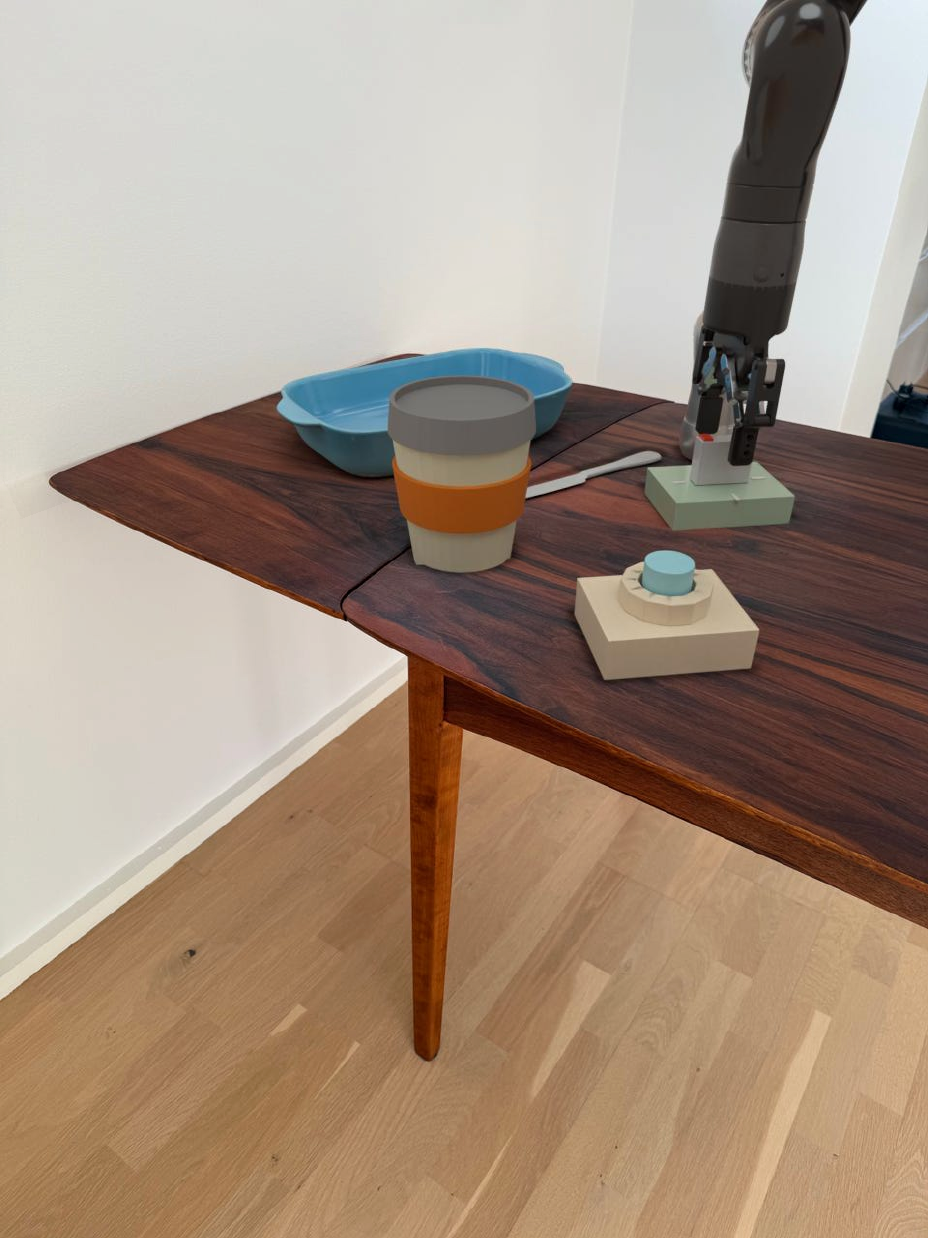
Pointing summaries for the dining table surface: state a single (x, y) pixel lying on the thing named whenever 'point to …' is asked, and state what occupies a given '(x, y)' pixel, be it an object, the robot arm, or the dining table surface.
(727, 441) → the tap knob
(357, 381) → the casserole dish
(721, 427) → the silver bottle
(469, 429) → the reusable coffee cup
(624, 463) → the butter knife
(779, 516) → the panel
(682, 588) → the light blue puck
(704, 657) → the beige button housing
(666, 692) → the dining table surface
